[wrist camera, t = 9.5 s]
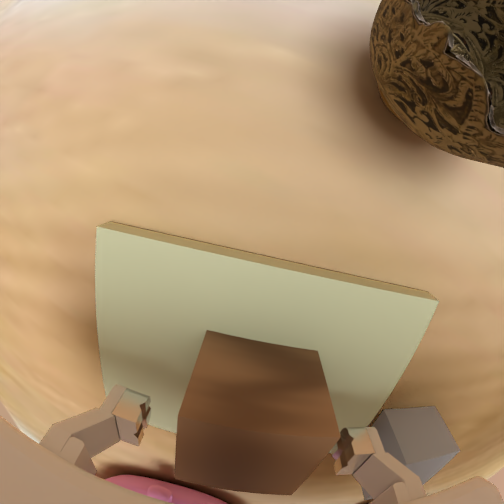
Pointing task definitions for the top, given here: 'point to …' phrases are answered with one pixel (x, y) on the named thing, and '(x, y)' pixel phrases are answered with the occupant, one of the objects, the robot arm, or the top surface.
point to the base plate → (245, 318)
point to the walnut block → (254, 417)
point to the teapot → (163, 490)
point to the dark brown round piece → (444, 72)
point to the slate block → (416, 440)
